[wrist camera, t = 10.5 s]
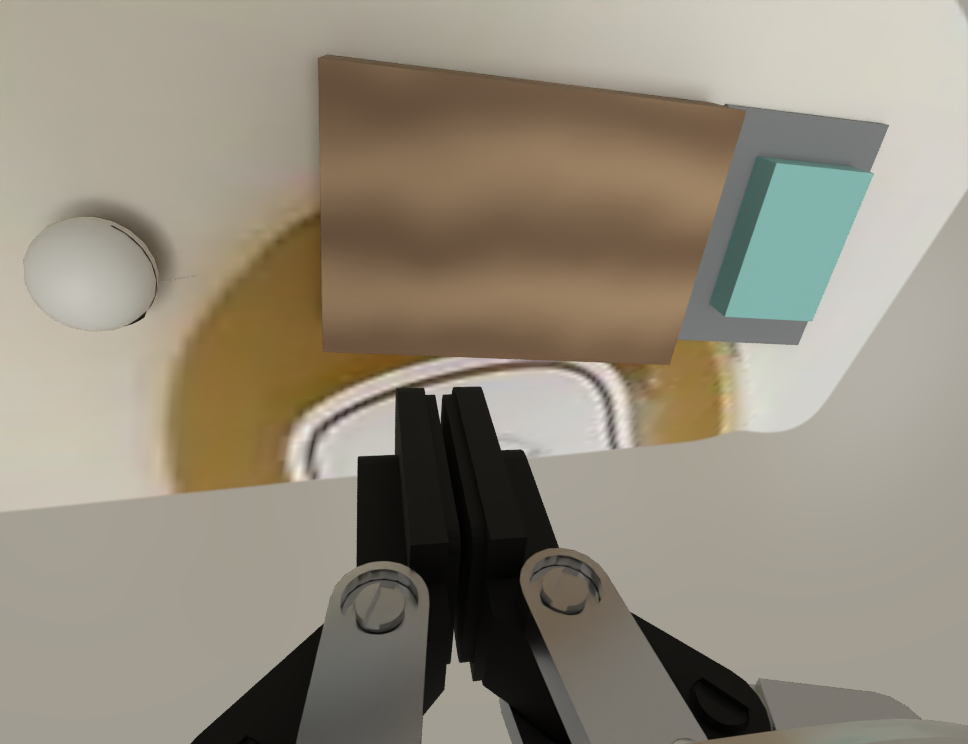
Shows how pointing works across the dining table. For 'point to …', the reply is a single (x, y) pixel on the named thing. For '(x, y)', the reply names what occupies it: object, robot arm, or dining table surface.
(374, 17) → the dining table surface
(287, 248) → the dining table surface
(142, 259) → the white sphere
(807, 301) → the teal rectangular block
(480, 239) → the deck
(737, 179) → the mat
